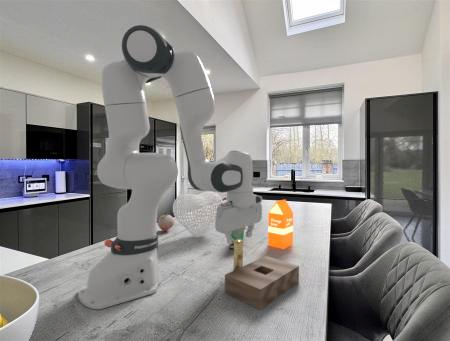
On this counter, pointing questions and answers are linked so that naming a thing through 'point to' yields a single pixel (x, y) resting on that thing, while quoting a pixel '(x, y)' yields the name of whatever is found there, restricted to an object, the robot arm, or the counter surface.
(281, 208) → the orange juice
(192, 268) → the counter surface
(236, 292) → the hole block
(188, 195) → the heart
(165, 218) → the decorative fruit
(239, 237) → the food container
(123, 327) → the counter surface
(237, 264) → the peg
